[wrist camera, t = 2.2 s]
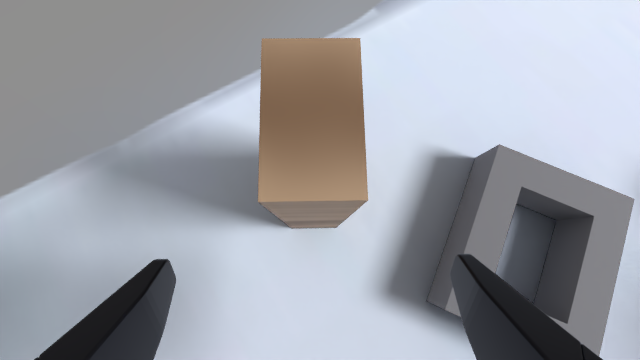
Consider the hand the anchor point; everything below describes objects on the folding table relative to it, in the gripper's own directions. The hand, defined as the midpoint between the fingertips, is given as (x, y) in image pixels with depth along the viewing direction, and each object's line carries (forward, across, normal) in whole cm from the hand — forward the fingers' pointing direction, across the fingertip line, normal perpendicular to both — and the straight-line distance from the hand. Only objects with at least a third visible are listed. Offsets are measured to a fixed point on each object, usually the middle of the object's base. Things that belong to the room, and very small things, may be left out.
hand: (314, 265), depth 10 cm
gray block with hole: (+8, -13, +8) cm, 17 cm away
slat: (+11, 0, +5) cm, 12 cm away
